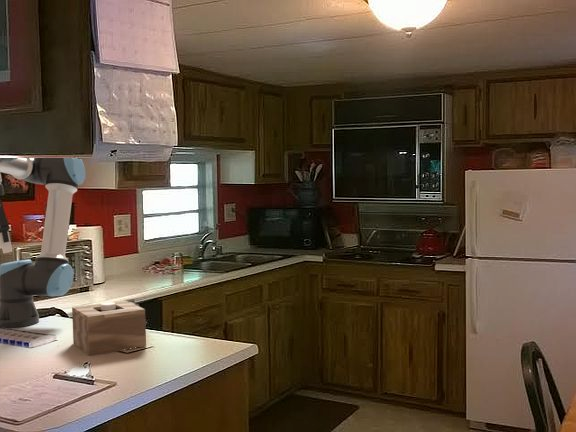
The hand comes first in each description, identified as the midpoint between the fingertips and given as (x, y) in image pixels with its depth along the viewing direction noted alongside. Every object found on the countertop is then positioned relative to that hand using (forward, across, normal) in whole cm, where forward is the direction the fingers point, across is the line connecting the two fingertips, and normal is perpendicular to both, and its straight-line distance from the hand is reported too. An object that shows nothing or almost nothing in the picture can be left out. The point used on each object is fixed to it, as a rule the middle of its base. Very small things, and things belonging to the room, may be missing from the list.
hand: (3, 250), depth 218 cm
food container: (+37, +2, +35) cm, 51 cm away
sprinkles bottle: (+35, +17, +23) cm, 45 cm away
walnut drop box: (+35, +18, +22) cm, 45 cm away
